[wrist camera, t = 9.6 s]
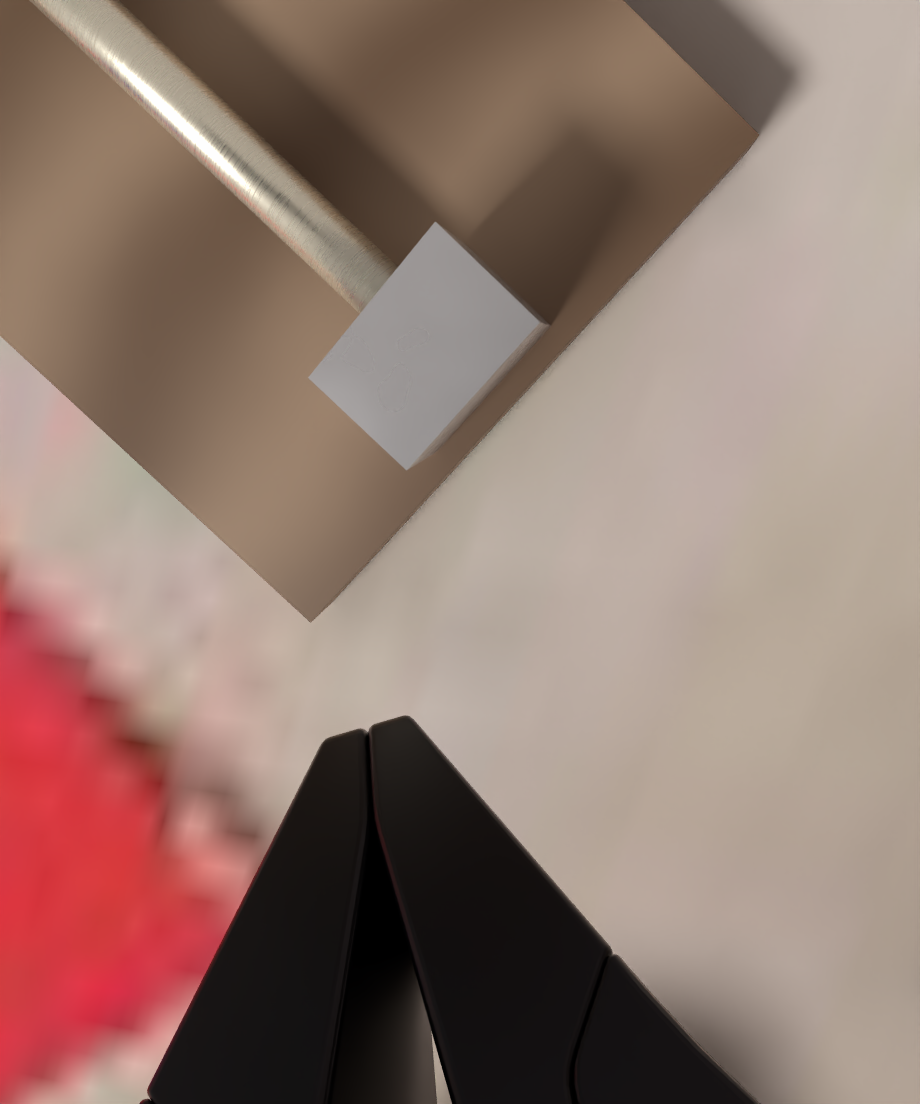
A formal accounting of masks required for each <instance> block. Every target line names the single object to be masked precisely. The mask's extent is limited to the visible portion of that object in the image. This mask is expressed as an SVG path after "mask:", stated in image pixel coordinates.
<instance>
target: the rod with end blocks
mask: <svg viewBox="0 0 920 1104" xmlns="http://www.w3.org/2000/svg"><path fill="white" fill-rule="evenodd" d="M30 1H31V2H32V3H33V4H34V5H35V6H36V7H37V8H38V9H39V10H40V11H41V12H42V13H43V14H44V15H45V16H47V17H48V18H49V19H50V20H51V21H52V22H53V23H54V24H55V25H56V26H57V27H58V28H59V29H60V30H61V31H62V32H63V33H64V34H65V35H67V36H68V37H69V38H70V39H71V40H72V41H73V42H74V43H75V44H76V45H77V46H78V47H79V48H80V49H81V50H82V51H83V52H84V53H85V54H87V55H88V56H89V57H90V58H91V59H92V60H93V61H94V62H95V63H96V64H97V65H98V66H99V67H100V68H101V69H102V70H103V71H104V72H106V73H107V74H108V75H109V76H110V77H111V78H112V79H113V80H114V81H115V82H116V83H117V84H118V85H119V86H120V87H121V88H122V89H123V90H124V91H126V92H127V93H128V94H129V95H130V96H131V97H132V98H133V99H134V100H135V101H136V102H137V103H138V104H139V105H140V106H141V107H142V108H143V109H145V110H146V111H147V112H148V113H149V114H150V115H151V116H152V117H153V118H154V119H155V120H156V121H157V122H158V123H159V124H160V125H161V126H162V127H163V128H165V129H166V130H167V131H168V132H169V133H170V134H171V135H172V136H173V137H174V138H175V139H176V140H177V141H178V142H179V143H180V144H181V145H182V146H184V147H185V148H186V149H187V150H188V151H189V152H190V153H191V154H192V155H193V156H194V157H195V158H196V159H197V160H198V161H199V162H200V163H201V164H202V165H204V166H205V167H206V168H207V169H208V170H209V171H210V172H211V173H212V174H213V175H214V176H215V177H216V178H217V179H218V180H219V181H220V182H221V183H223V184H224V185H225V186H226V187H227V188H228V189H229V190H230V191H231V192H232V193H233V194H234V195H235V196H236V197H237V198H238V199H239V200H240V201H241V202H243V203H244V204H245V205H246V206H247V207H248V208H249V209H250V210H251V211H252V212H253V213H254V214H255V215H256V216H257V217H258V218H259V219H260V220H261V221H263V222H264V223H265V224H266V225H267V226H268V227H269V228H270V229H271V230H272V231H273V232H274V233H275V234H276V235H277V236H278V237H279V238H280V239H282V240H283V241H284V242H285V243H286V244H287V245H288V246H289V247H290V248H291V249H292V250H293V251H294V252H295V253H296V254H297V255H298V256H299V257H300V258H302V259H303V260H304V261H305V262H306V263H307V264H308V265H309V266H310V267H311V268H312V269H313V270H314V271H315V272H316V273H317V274H318V275H319V276H321V277H322V278H323V279H324V280H325V281H326V282H327V283H328V284H329V285H330V286H331V287H332V288H333V289H334V290H335V291H336V292H337V293H338V294H339V295H341V296H342V297H343V298H344V299H345V300H346V301H347V302H348V303H349V304H350V305H351V306H352V307H353V308H354V309H355V310H356V311H357V312H358V313H360V314H359V316H358V317H357V318H356V319H355V321H354V322H353V323H352V324H351V325H350V327H349V328H348V329H347V330H346V332H345V333H344V334H343V335H342V336H341V338H340V339H339V340H338V341H337V343H336V344H335V345H334V346H333V348H332V349H331V350H330V351H329V352H328V354H327V355H326V356H325V357H324V359H323V360H322V361H321V362H320V364H319V365H318V366H317V367H316V368H315V370H314V371H313V372H312V373H311V375H310V376H309V377H308V378H309V379H310V380H311V381H312V382H313V383H314V384H315V385H316V386H317V387H318V388H319V389H320V390H321V391H323V392H324V393H325V394H326V395H327V396H328V397H329V398H330V399H331V400H332V401H333V402H334V403H335V404H336V405H337V406H338V407H340V408H341V409H342V410H343V411H344V412H345V413H346V414H347V415H348V416H349V417H350V418H351V419H352V420H353V421H354V422H355V423H357V424H358V425H359V426H360V427H361V428H362V429H363V430H364V431H365V432H366V433H367V434H368V435H369V436H370V437H371V438H372V439H374V440H375V441H376V442H377V443H378V444H379V445H380V446H381V447H382V448H383V449H384V450H385V451H386V452H387V453H388V454H389V455H391V456H392V457H393V458H394V459H395V460H396V461H397V462H398V463H399V464H400V465H401V466H402V467H403V468H404V469H405V470H406V471H407V470H408V469H410V468H411V467H413V466H415V465H416V464H418V463H419V462H421V461H422V460H424V459H426V458H427V457H429V456H430V455H432V454H434V453H435V452H437V451H438V450H439V449H440V448H441V447H442V446H443V445H444V443H445V442H446V441H447V440H448V439H449V438H450V437H451V436H452V435H453V433H454V432H455V431H456V430H457V429H458V428H459V427H460V426H461V425H462V424H463V422H464V421H465V420H466V419H467V418H468V417H469V416H470V415H471V414H472V413H473V411H474V410H475V409H476V408H477V407H478V406H479V405H480V404H481V403H482V401H483V400H484V399H485V398H486V397H487V396H488V395H489V394H490V393H491V392H492V390H493V389H494V388H495V387H496V386H497V385H498V384H499V383H500V382H501V380H502V379H503V378H504V377H505V376H506V375H507V374H508V373H509V372H510V371H511V369H512V368H513V367H514V366H515V365H516V364H517V363H518V362H519V361H520V360H521V358H522V357H523V356H524V355H525V354H526V353H527V352H528V351H529V350H530V348H531V347H532V346H533V345H534V344H535V343H536V342H537V341H538V340H539V339H540V337H541V336H542V335H543V334H544V333H545V332H546V331H547V330H548V329H549V327H550V325H549V324H548V323H547V322H546V321H545V320H544V319H543V318H542V317H541V316H540V315H539V314H538V313H537V312H536V311H535V310H534V309H533V308H532V307H531V306H530V305H529V304H528V303H527V302H525V301H524V300H523V299H522V298H521V297H520V296H519V295H518V294H517V293H516V292H515V291H514V290H513V289H512V288H511V287H510V286H509V285H508V284H507V283H506V282H505V281H504V280H503V279H502V278H500V277H499V276H498V275H497V274H496V273H495V272H494V271H493V270H492V269H491V268H490V267H489V266H488V265H487V264H486V263H485V262H484V261H483V260H482V259H481V258H480V257H479V256H478V255H477V254H476V253H474V252H473V251H472V250H471V249H470V248H469V247H468V246H467V245H466V244H465V243H464V242H463V241H461V240H460V239H459V238H457V237H456V236H455V235H453V234H452V233H450V232H449V231H448V230H446V229H445V228H444V227H442V226H441V225H439V224H438V223H437V222H434V224H433V225H432V226H431V227H430V228H429V230H428V231H427V232H426V233H425V235H424V236H423V237H422V238H421V239H420V241H419V242H418V243H417V244H416V246H415V247H414V248H413V249H412V251H411V252H410V253H409V254H408V255H407V257H406V258H405V259H404V260H403V262H402V263H401V264H400V265H399V267H397V266H396V265H395V264H394V263H393V262H392V261H391V260H390V259H389V258H388V257H387V256H386V255H385V254H384V253H383V252H382V251H381V250H380V249H379V248H378V247H376V246H375V245H374V244H373V243H372V242H371V241H370V240H369V239H368V238H367V237H366V236H365V235H364V234H363V233H362V232H361V231H360V230H359V229H358V228H357V227H356V226H354V225H353V224H352V223H351V222H350V221H349V220H348V219H347V218H346V217H345V216H344V215H343V214H342V213H341V212H340V211H339V210H338V209H337V208H336V207H335V206H334V205H332V204H331V203H330V202H329V201H328V200H327V199H326V198H325V197H324V196H323V195H322V194H321V193H320V192H319V191H318V190H317V189H316V188H315V187H314V186H313V185H312V184H310V183H309V182H308V181H307V180H306V179H305V178H304V177H303V176H302V175H301V174H300V173H299V172H298V171H297V170H296V169H295V168H294V167H293V166H292V165H291V164H290V163H288V162H287V161H286V160H285V159H284V158H283V157H282V156H281V155H280V154H279V153H278V152H277V151H276V150H275V149H274V148H273V147H272V146H271V145H270V144H269V143H268V142H266V141H265V140H264V139H263V138H262V137H261V136H260V135H259V134H258V133H257V132H256V131H255V130H254V129H253V128H252V127H251V126H250V125H249V124H248V123H247V122H246V121H245V120H243V119H242V118H241V117H240V116H239V115H238V114H237V113H236V112H235V111H234V110H233V109H232V108H231V107H230V106H229V105H228V104H227V103H226V102H225V101H224V100H223V99H221V98H220V97H219V96H218V95H217V94H216V93H215V92H214V91H213V90H212V89H211V88H210V87H209V86H208V85H207V84H206V83H205V82H204V81H203V80H202V79H201V78H199V77H198V76H197V75H196V74H195V73H194V72H193V71H192V70H191V69H190V68H189V67H188V66H187V65H186V64H185V63H184V62H183V61H182V60H181V59H180V58H179V57H177V56H176V55H175V54H174V53H173V52H172V51H171V50H170V49H169V48H168V47H167V46H166V45H165V44H164V43H163V42H162V41H161V40H160V39H159V38H158V37H157V36H155V35H154V34H153V33H152V32H151V31H150V30H149V29H148V28H147V27H146V26H145V25H144V24H143V23H142V22H141V21H140V20H139V19H138V18H137V17H136V16H135V15H133V14H132V13H131V12H130V11H129V10H128V9H127V8H126V7H125V6H124V5H123V4H122V3H121V2H120V1H119V0H30Z"/></svg>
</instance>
